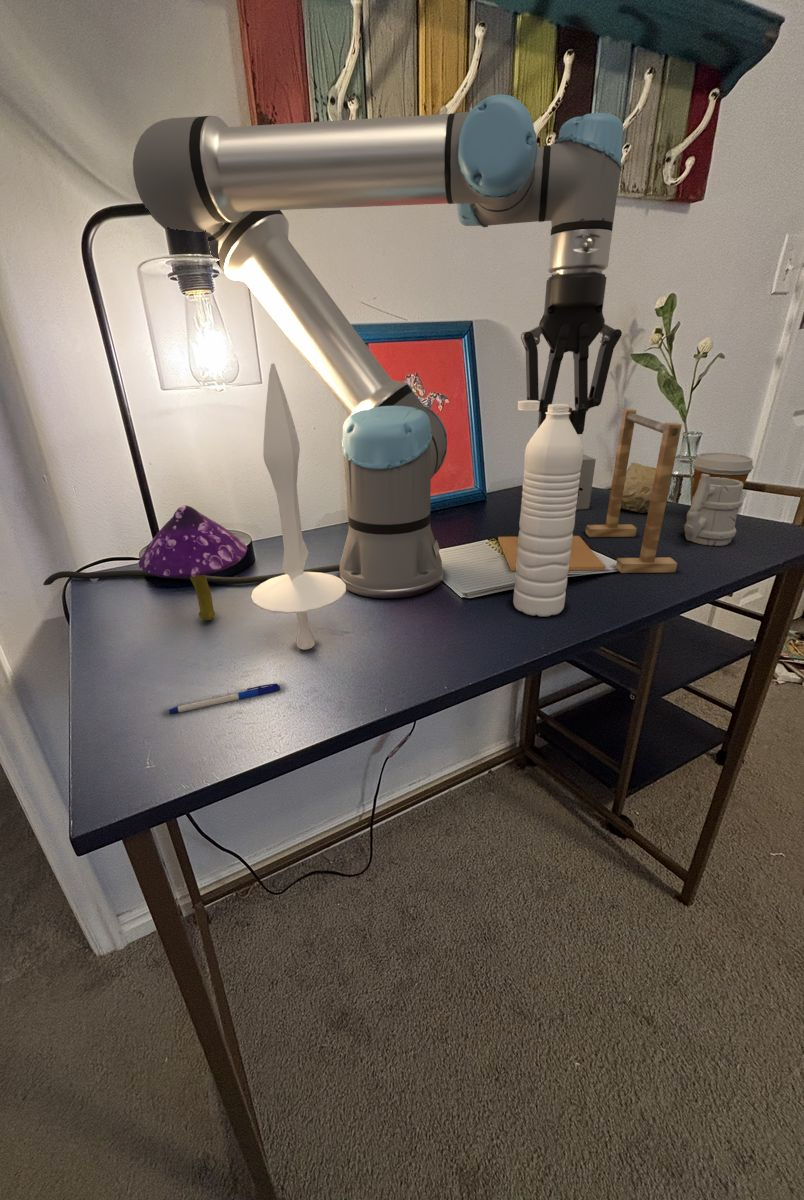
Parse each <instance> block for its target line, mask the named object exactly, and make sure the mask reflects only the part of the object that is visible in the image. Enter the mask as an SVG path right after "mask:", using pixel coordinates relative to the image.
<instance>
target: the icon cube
mask: <svg viewBox="0 0 804 1200" xmlns="http://www.w3.org/2000/svg"><path fill="white" fill-rule="evenodd" d="M596 461H597V458H595V457H591V456H589V455H586V454H585V453H583V461H582V466H581V470H580V478H579V479H580V482H579V485H578V486H579V490H578V492H577V493H578V497H577V505H576V511H577V510H587V509H588V510H589V509H590V503H591V498H592V497H591V496H592V489H593V484H594V483H593V482H594V475H595V467H596Z"/></svg>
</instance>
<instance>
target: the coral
mask: <svg viewBox="0 0 804 1200" xmlns="http://www.w3.org/2000/svg"><path fill="white" fill-rule="evenodd" d="M655 473H656V467H652V466H648V465H643V464H640V463H637V462H631V463H630V465H629V466H628V467H627V472H626V478H625V484H624V490H623V496H622V502H621V509H623V510H627V511H630V512H635V513H640V514H645V513H648V510H649V505H650V499H651V494H652V489H653V483H654V478H655Z"/></svg>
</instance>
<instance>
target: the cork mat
mask: <svg viewBox="0 0 804 1200" xmlns="http://www.w3.org/2000/svg"><path fill="white" fill-rule="evenodd" d="M497 540H498V542H499V546H500V548H501V550H502V553H503V555H504V557H505V560H506V562H507V566H508V567H509V570H510V572H517V571H516V561H517V555H518V554H517V548H518V545H519V544H518V536H498V537H497ZM570 549H571V556H570V561H569V571H605V568H606V566H605V565H604V564H603V563H602V561H601V560H600V559H599V558H598V556H597V555H596V554H595V553H594V552H593V550H592V549H591V548H590V547H589V545H588V544H587V543H586V542H585V541H584V540H583V539H582V537H581V536H580V535H573V540H572V546H571V548H570Z"/></svg>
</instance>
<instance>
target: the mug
mask: <svg viewBox="0 0 804 1200" xmlns="http://www.w3.org/2000/svg"><path fill="white" fill-rule="evenodd" d="M743 489H744V487H743V483H742V482H741V481H738V480H733V479H728V478H720V477H710V475H708V474H702V475H701V479H700V481H699V484H698V488H697V490H696V493H695V495H694V496H693V498H692V497H691V500H692V502H691V503H692V505H691V503H690V507H689V509H688V511H687V513H686V521H685V524H684V525H683V526H684V536H685V539H686V541H690V542H692V543H695V544H699V545H703V546H715V547H718V546H720V547H721V546H727V545H729V544H731V543H732V541H733V538H734V537H735V536H736V534H737V529H736V527H735V526H736V522H737V518H738V517H737V516H738V514H739V513H738V512H739V509H740V508H741V507H742V506H743V500H742V499H741V498H742V494H743Z"/></svg>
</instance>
